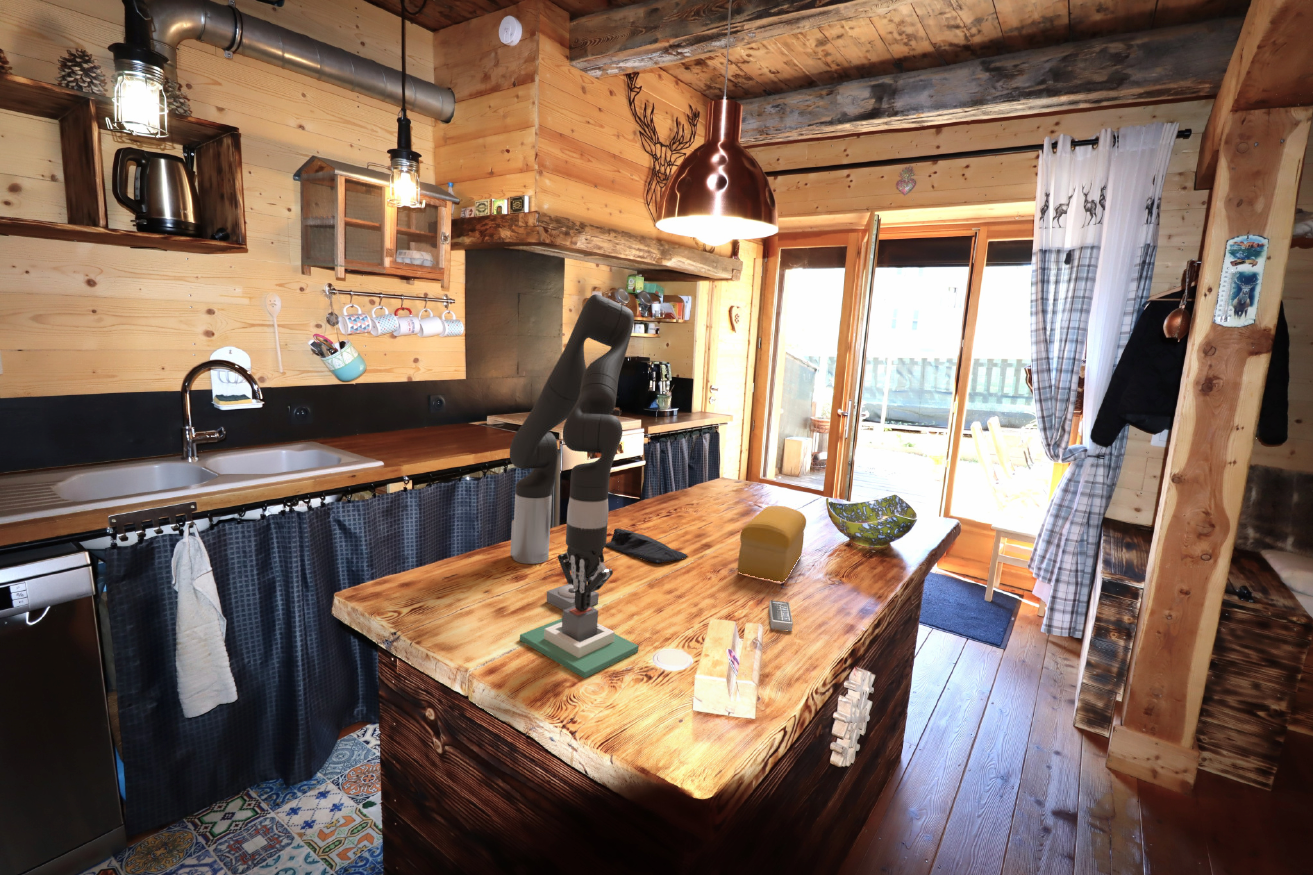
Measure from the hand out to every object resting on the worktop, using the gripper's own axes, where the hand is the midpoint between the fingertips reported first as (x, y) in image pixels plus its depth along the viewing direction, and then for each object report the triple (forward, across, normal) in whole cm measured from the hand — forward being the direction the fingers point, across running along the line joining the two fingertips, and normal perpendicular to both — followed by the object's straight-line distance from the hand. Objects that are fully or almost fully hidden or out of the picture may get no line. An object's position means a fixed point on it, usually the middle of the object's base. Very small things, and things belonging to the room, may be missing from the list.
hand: (581, 608), depth 118 cm
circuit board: (+8, 0, 0) cm, 8 cm away
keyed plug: (+6, 0, 0) cm, 6 cm away
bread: (+8, -2, -70) cm, 70 cm away
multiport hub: (+8, -20, -41) cm, 47 cm away
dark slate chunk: (+8, +27, -50) cm, 58 cm away
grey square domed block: (+8, +15, -12) cm, 21 cm away
